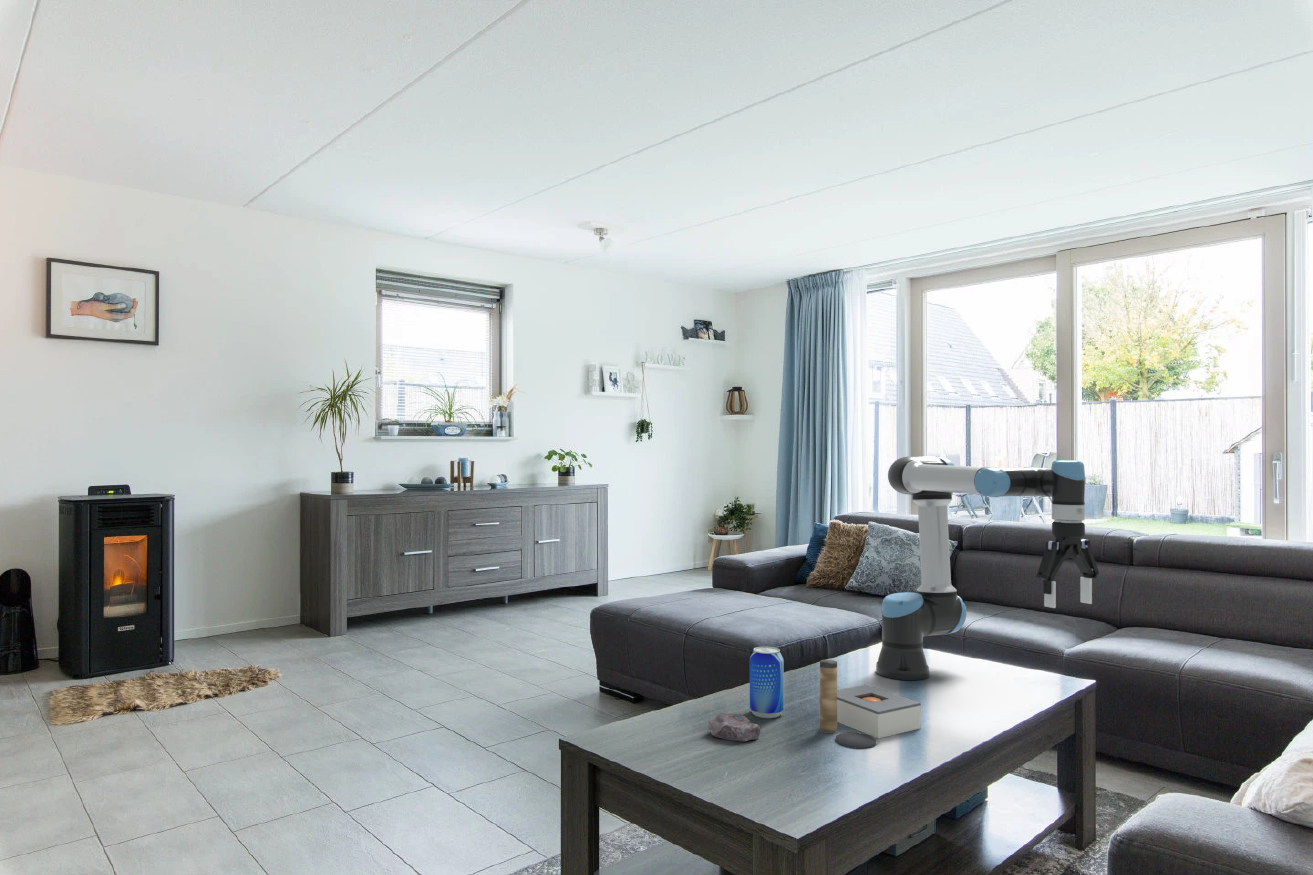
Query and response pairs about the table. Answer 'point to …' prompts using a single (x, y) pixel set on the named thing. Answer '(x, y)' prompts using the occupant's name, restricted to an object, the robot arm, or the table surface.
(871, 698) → the breaker button
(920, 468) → the robot arm
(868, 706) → the box
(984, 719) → the table surface
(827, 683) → the stylus
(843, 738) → the pad
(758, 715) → the beer can
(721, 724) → the rock
